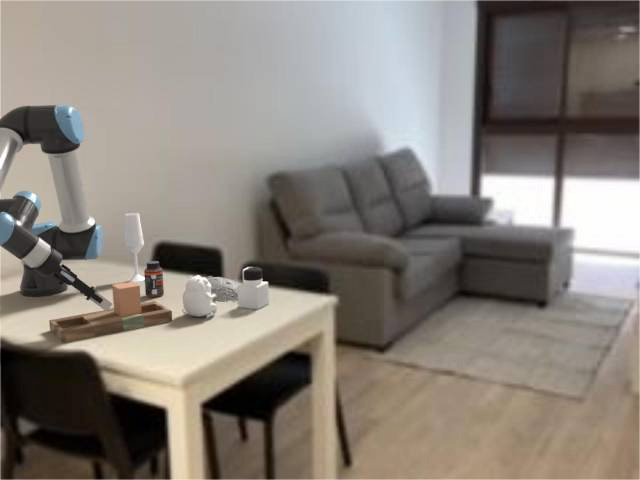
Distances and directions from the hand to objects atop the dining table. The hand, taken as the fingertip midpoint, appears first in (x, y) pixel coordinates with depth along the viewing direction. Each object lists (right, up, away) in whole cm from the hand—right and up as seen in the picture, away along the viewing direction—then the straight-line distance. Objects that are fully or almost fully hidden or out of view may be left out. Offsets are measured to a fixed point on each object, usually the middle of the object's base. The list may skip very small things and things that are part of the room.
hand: (108, 307), depth 196 cm
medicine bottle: (+39, -1, +19) cm, 44 cm away
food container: (+27, +1, +33) cm, 43 cm away
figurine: (+24, -4, +10) cm, 26 cm away
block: (+4, -2, +4) cm, 6 cm away
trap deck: (+1, -5, +1) cm, 6 cm away
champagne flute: (-7, +5, +55) cm, 55 cm away
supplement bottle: (+5, +1, +33) cm, 33 cm away
